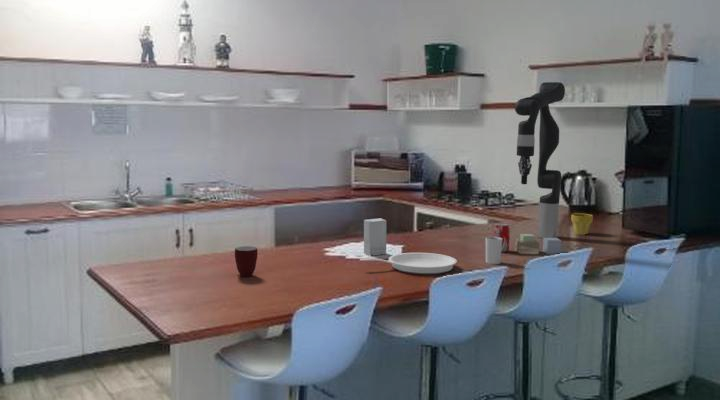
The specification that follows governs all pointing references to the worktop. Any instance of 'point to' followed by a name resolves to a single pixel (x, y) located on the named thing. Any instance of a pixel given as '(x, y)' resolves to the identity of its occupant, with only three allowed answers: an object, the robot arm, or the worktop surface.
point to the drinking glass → (493, 250)
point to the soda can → (502, 235)
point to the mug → (246, 260)
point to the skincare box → (375, 236)
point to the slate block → (551, 245)
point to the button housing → (527, 247)
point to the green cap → (527, 238)
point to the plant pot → (581, 223)
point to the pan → (420, 263)
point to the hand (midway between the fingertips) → (523, 184)
